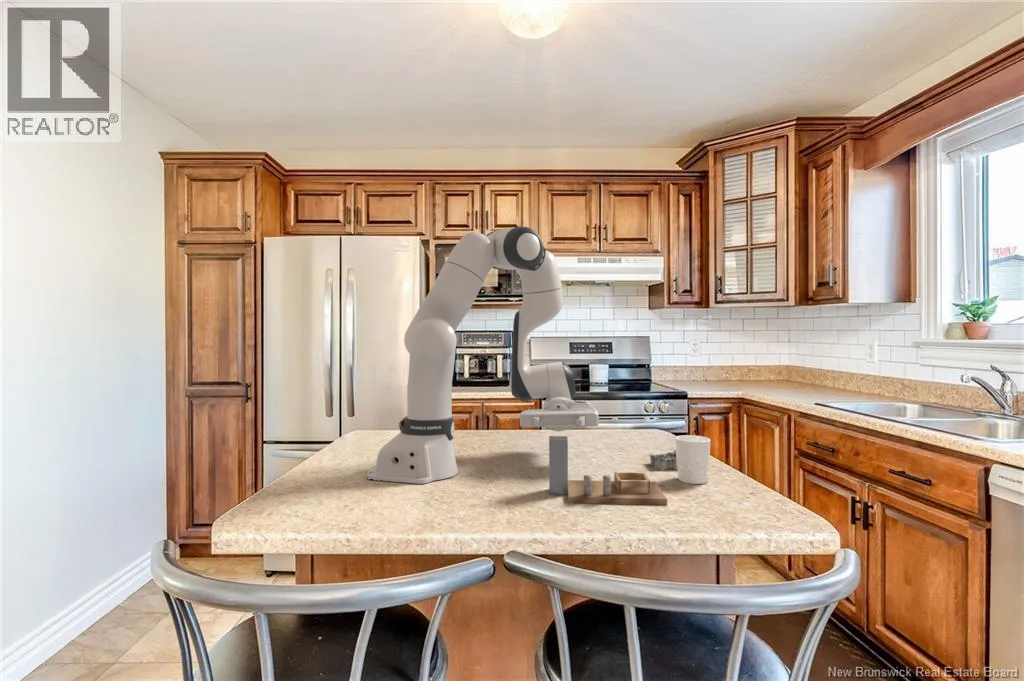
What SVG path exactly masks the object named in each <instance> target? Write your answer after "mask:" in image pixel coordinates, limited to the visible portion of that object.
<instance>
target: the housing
mask: <svg viewBox="0 0 1024 681" xmlns="http://www.w3.org/2000/svg"><path fill="white" fill-rule="evenodd" d="M613 473H614V480H612V477H611V475H607V474H605V475H602V480H592V475H590V474H584V475H583V480H580V479H579V480H575V479H574V480H573V479H572V480H571V479H568V495H567V498H568V504H570V503H571V504H576V503H577V504H605V503H614V505H615V504H616V503H617V504H619V505H653V504H659V505H660V504H661V505H662V506H665V505H666V506H667V505H668V498H667V497H666V496H665V493H663V491H662V489H661V488H660V487H659V485H658V484H657V483H656V481H651V480H650V478H649V477H648V475H647V474H646V473H645V472H639V471H638V472H635V471H633V472H632V471H631V472H627V471H626V472H625V471H622V472H621V471H620V472H619V471H614V472H613ZM617 504H616V505H617ZM661 505H660V506H661Z"/></svg>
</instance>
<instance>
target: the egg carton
mask: <svg viewBox="0 0 1024 681" xmlns="http://www.w3.org/2000/svg"><path fill="white" fill-rule="evenodd" d="M648 456H649V458H650V463H649V464H651V466H654V465H655V466H654V469H656V468H657V469H656V470H661V469H666V468H673V469H672V470H675V469H678V468H677V460H676V449H675V450H674V451H673V452H667V453H659V454H652V453H651V454H648ZM666 470H667V469H666Z"/></svg>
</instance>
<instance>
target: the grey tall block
mask: <svg viewBox="0 0 1024 681" xmlns="http://www.w3.org/2000/svg"><path fill="white" fill-rule="evenodd" d="M568 441H569V440H568V436H566V435H565V436H563V435H558V436H557V435H549V436H548V449H549V450H548V457H549V458H548V462H549V463H548V465H549V466H548V468H549V469H548V470H549V471H548V472H549V473H548V475H549V476H548V477H549V478H548V479H549V483H548V485H549V489H548V492H549V495H550V496H568V480H569V478H568V477H569V474H568V473H569V468H568V467H569V466H568V464H569V462H568V461H569V460H568V458H569V457H568V455H569V453H568V452H569V451H568V450H569V447H568V445H569V443H568Z"/></svg>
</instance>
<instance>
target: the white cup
mask: <svg viewBox="0 0 1024 681" xmlns="http://www.w3.org/2000/svg"><path fill="white" fill-rule="evenodd" d="M674 441H675V450H676V460H677V468H678V470H677V480H679V481H680V482H683V483H685V484H691V485H702V484H706V482H707V483H708V480H709V470H710V460H711V459H710V458H711V457H710V455H711V438H709V437H707V436H702V435H694V434H692V435H691V434H684V435H677V436H675V439H674Z"/></svg>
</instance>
